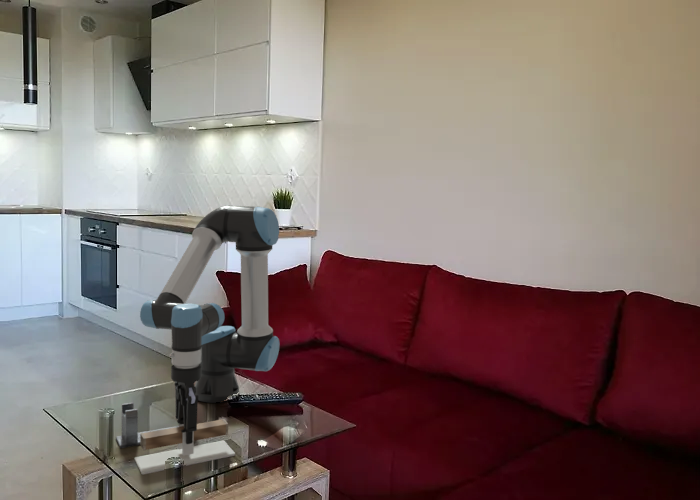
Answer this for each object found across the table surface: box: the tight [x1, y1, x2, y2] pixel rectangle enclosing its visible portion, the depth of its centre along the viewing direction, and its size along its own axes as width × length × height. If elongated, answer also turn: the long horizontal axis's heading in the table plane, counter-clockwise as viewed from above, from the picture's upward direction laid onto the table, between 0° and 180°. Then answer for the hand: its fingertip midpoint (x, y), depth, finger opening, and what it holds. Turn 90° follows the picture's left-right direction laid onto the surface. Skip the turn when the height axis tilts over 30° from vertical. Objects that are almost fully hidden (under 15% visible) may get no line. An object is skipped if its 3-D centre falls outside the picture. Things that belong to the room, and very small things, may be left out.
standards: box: [115, 402, 178, 449], centre depth 171 cm, size 22×6×10 cm, turn 121°
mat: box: [134, 439, 236, 475], centre depth 160 cm, size 24×9×1 cm, turn 121°
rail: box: [139, 418, 229, 451], centre depth 159 cm, size 22×4×3 cm, turn 121°
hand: (185, 450), depth 160 cm, fingers closed on rail, 3 cm apart
